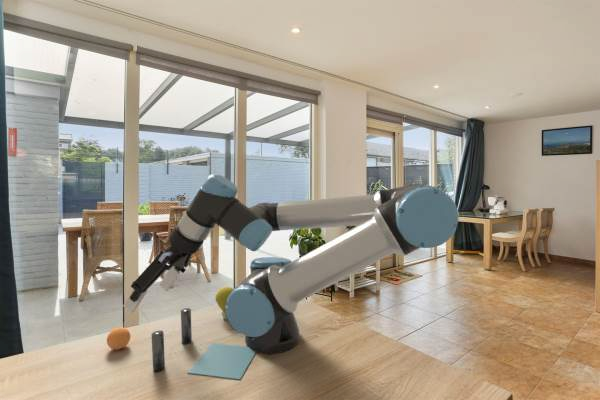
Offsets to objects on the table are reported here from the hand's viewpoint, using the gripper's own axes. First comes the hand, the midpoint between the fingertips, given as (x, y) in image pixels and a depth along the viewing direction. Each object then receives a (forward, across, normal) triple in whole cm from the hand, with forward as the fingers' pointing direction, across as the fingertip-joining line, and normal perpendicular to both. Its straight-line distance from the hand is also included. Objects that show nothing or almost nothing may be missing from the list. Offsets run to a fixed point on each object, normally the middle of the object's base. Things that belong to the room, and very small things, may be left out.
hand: (147, 297), depth 81 cm
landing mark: (+1, -1, +25) cm, 25 cm away
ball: (+16, -1, -1) cm, 16 cm away
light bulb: (+6, -23, +18) cm, 30 cm away
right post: (+9, -8, +14) cm, 18 cm away
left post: (+9, +5, +14) cm, 17 cm away
